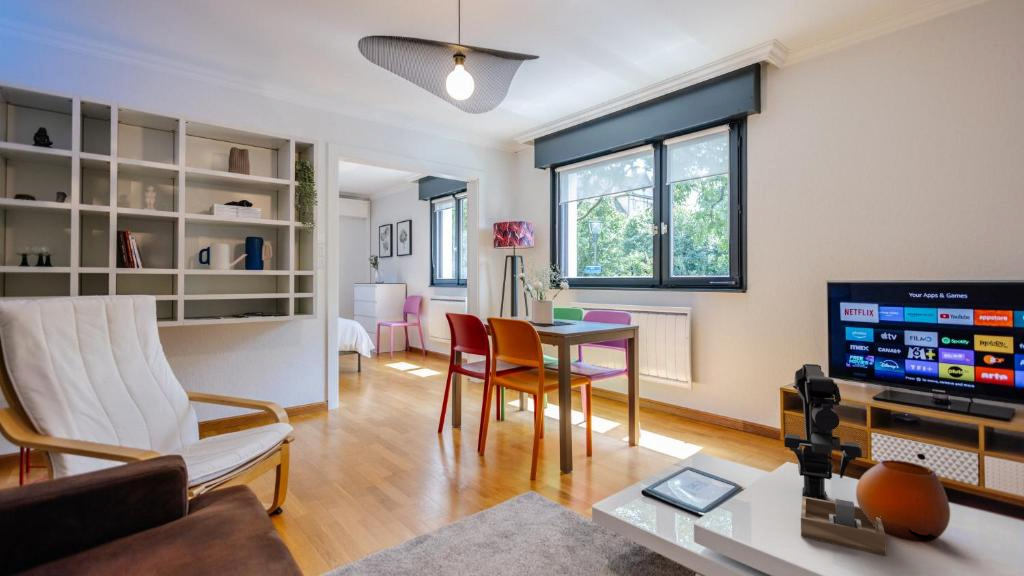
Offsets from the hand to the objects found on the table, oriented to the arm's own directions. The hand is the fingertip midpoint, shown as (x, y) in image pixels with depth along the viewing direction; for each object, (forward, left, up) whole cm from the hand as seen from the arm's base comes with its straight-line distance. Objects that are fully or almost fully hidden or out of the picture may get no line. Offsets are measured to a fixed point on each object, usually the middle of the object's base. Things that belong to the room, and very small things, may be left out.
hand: (821, 474), depth 140 cm
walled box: (+9, +4, -12) cm, 16 cm away
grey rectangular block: (+11, +5, -11) cm, 16 cm away
